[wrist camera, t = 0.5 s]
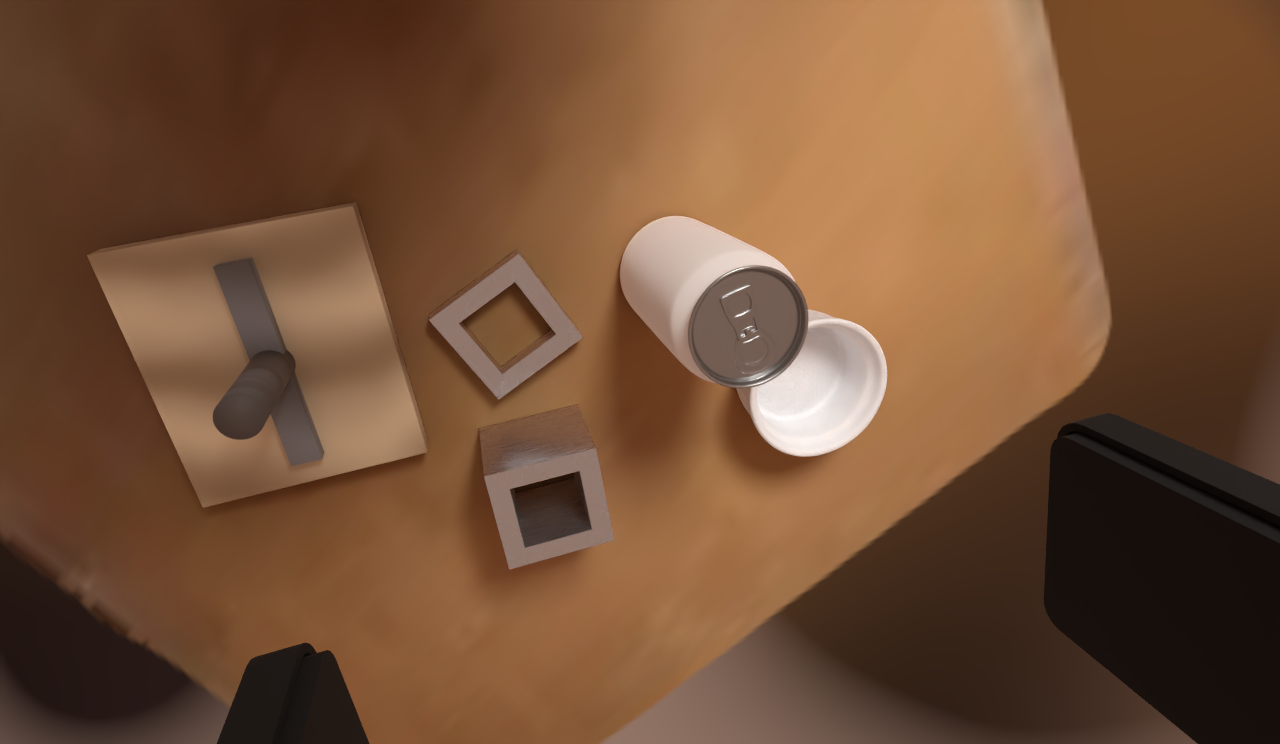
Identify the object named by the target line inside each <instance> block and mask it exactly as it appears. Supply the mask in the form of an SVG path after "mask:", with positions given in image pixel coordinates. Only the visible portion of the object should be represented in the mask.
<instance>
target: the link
mask: <svg viewBox="0 0 1280 744" xmlns="http://www.w3.org/2000/svg"><path fill="white" fill-rule="evenodd" d="M479 433H480V443H481V453H482V462H483V472H484V479H485V482H486V486H487V490H488V493H489V497H490V501H491V504H492V508H493V512H494V515H495V519H496V523H497V526H498V530H499V534H500V537H501V541H502V545H503V548H504V552H505V556H506V559H507V563H508V567H509V570H510V569H513V568H517V567H521V566H524V565H528V564H531V563H535V562H538V561H542V560H546V559H549V558H553V557H556V556H560V555H563V554H567V553H571V552H574V551H578V550H581V549H585V548H588V547H592V546H596V545H599V544H603V543H606V542H610V541H613V540H614V536H613V531H612V526H611V521H610V516H609V511H608V506H607V501H606V496H605V491H604V486H603V481H602V476H601V471H600V465H599V460H598V455H597V450H596V447H595V444H594V442H593V440H592V437H591V435H590V433H589V431H588V428H587V426H586V424H585V421H584V419H583V417H582V414H581V412H580V410H579V407H578V405H573V406H569V407H565V408H561V409H557V410H553V411H549V412H545V413H540V414H536V415H532V416H528V417H524V418H520V419H516V420H512V421H508V422H504V423H500V424H495V425H491V426H487V427H483V428H479ZM570 473H574V478H572V479H568V480H564V481H560V482H556V483H553V484H549V485H545V486H541V487H537V488H534V489H530V490H526V491H522V492H518V493H515V491H514V488H516V487H520V486H524V485H528V484H531V483H535V482H539V481H543V480H547V479H551V478H554V477H558V476H562V475H566V474H570Z"/></svg>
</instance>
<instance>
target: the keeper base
mask: <svg viewBox="0 0 1280 744" xmlns="http://www.w3.org/2000/svg"><path fill="white" fill-rule="evenodd" d="M87 257H88V259H89V261H90V263H91V266H92V268H93V270H94V272H95V274H96V276H97V279H98V281H99V283H100V285H101V287H102V290H103V292H104V294H105V296H106V298H107V300H108V303H109V305H110V307H111V309H112V311H113V313H114V316H115V318H116V320H117V322H118V324H119V326H120V329H121V331H122V333H123V335H124V337H125V340H126V342H127V344H128V346H129V348H130V350H131V353H132V355H133V357H134V359H135V361H136V363H137V366H138V368H139V370H140V372H141V374H142V376H143V379H144V381H145V383H146V385H147V387H148V390H149V392H150V394H151V396H152V398H153V400H154V403H155V405H156V407H157V409H158V411H159V413H160V416H161V418H162V420H163V422H164V424H165V427H166V429H167V431H168V433H169V435H170V437H171V440H172V442H173V444H174V446H175V448H176V450H177V453H178V455H179V457H180V459H181V461H182V463H183V466H184V468H185V470H186V472H187V474H188V477H189V479H190V481H191V483H192V485H193V487H194V490H195V492H196V494H197V496H198V498H199V500H200V503H201V505H202V507H203V508H204V507H208V506H212V505H217V504H221V503H225V502H229V501H233V500H237V499H241V498H245V497H249V496H253V495H257V494H261V493H265V492H269V491H273V490H277V489H281V488H285V487H289V486H293V485H298V484H302V483H306V482H310V481H314V480H318V479H322V478H326V477H330V476H334V475H338V474H342V473H346V472H350V471H354V470H358V469H362V468H366V467H370V466H374V465H379V464H383V463H387V462H391V461H395V460H399V459H403V458H407V457H411V456H415V455H419V454H423V453H427V452H428V439H427V436H426V432H425V429H424V426H423V422H422V419H421V416H420V412H419V409H418V406H417V402H416V399H415V396H414V392H413V389H412V386H411V383H410V379H409V376H408V373H407V369H406V366H405V363H404V359H403V356H402V353H401V349H400V346H399V343H398V339H397V336H396V333H395V329H394V326H393V323H392V319H391V316H390V313H389V310H388V306H387V303H386V300H385V296H384V293H383V290H382V286H381V283H380V280H379V276H378V273H377V270H376V266H375V263H374V260H373V256H372V253H371V250H370V246H369V243H368V240H367V237H366V233H365V230H364V227H363V223H362V220H361V217H360V213H359V210H358V207H357V203H356V202H354V203H348V204H343V205H337V206H332V207H326V208H321V209H315V210H310V211H305V212H299V213H294V214H288V215H283V216H277V217H272V218H267V219H261V220H256V221H250V222H245V223H239V224H234V225H228V226H223V227H218V228H212V229H207V230H201V231H196V232H190V233H185V234H180V235H174V236H169V237H163V238H158V239H152V240H147V241H141V242H136V243H131V244H125V245H120V246H114V247H109V248H103V249H100V250H97V251H95V252H93V253H90V254H88V255H87Z"/></svg>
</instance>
